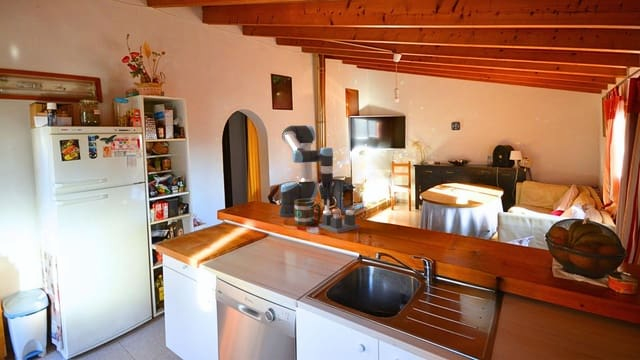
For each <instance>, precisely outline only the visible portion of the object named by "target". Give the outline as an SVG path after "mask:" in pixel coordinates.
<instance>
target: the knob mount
mask: <svg viewBox="0 0 640 360" xmlns="http://www.w3.org/2000/svg"><path fill="white" fill-rule="evenodd" d="M318 228H321V229H324V230H327V231H330V232H333V233H335V234H340V233H343V232H347V231H351V230H356V229H359V228H360V225H359V223H356V214H354V215H351V216H349V215H346V214H343V217H340V216H339V218H334V214H331V215H328V216H326V215H323V214H321V222H320V223H318Z"/></svg>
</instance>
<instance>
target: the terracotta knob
mask: <svg viewBox="0 0 640 360" xmlns="http://www.w3.org/2000/svg"><path fill="white" fill-rule="evenodd" d="M331 214H332V215H333V217H334V218H339V217H340V214H341V208H332V210H331Z"/></svg>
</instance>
